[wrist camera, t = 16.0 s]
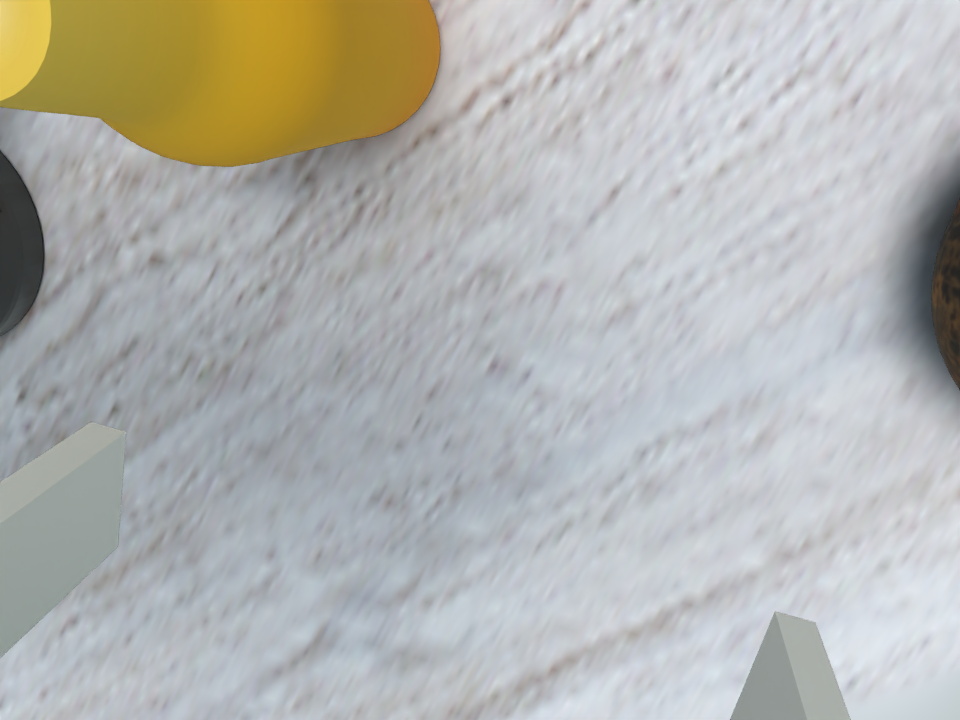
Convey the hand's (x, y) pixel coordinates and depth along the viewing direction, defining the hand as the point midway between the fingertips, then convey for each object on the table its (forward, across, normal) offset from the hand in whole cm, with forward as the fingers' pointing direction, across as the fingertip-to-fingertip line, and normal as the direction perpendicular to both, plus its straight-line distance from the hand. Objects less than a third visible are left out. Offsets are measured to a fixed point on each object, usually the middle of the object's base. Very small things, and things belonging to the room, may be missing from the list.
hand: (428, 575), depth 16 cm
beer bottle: (+33, +13, -8) cm, 36 cm away
